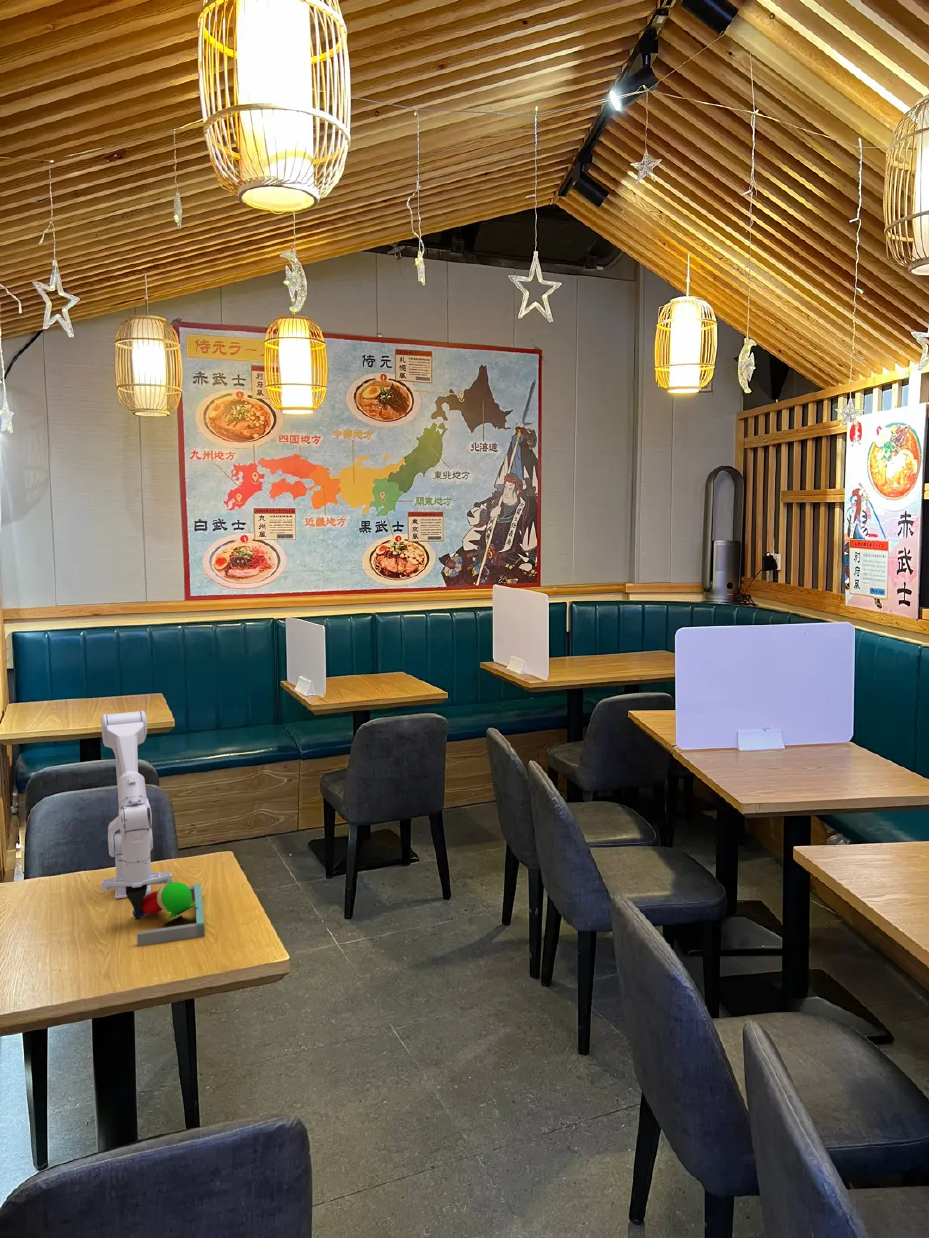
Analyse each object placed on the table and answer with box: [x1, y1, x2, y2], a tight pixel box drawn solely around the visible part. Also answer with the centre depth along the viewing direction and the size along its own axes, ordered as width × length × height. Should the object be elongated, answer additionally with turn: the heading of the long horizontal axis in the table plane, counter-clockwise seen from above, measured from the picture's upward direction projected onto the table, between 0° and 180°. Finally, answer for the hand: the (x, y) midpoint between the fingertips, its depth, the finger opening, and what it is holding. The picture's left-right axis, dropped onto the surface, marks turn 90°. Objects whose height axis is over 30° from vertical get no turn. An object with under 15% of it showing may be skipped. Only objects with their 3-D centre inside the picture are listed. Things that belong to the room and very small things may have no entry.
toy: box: [132, 880, 196, 923], centre depth 201 cm, size 8×8×15 cm
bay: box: [136, 882, 206, 947], centre depth 202 cm, size 23×14×3 cm, turn 18°
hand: (138, 917), depth 200 cm, fingers closed, pressing on toy
